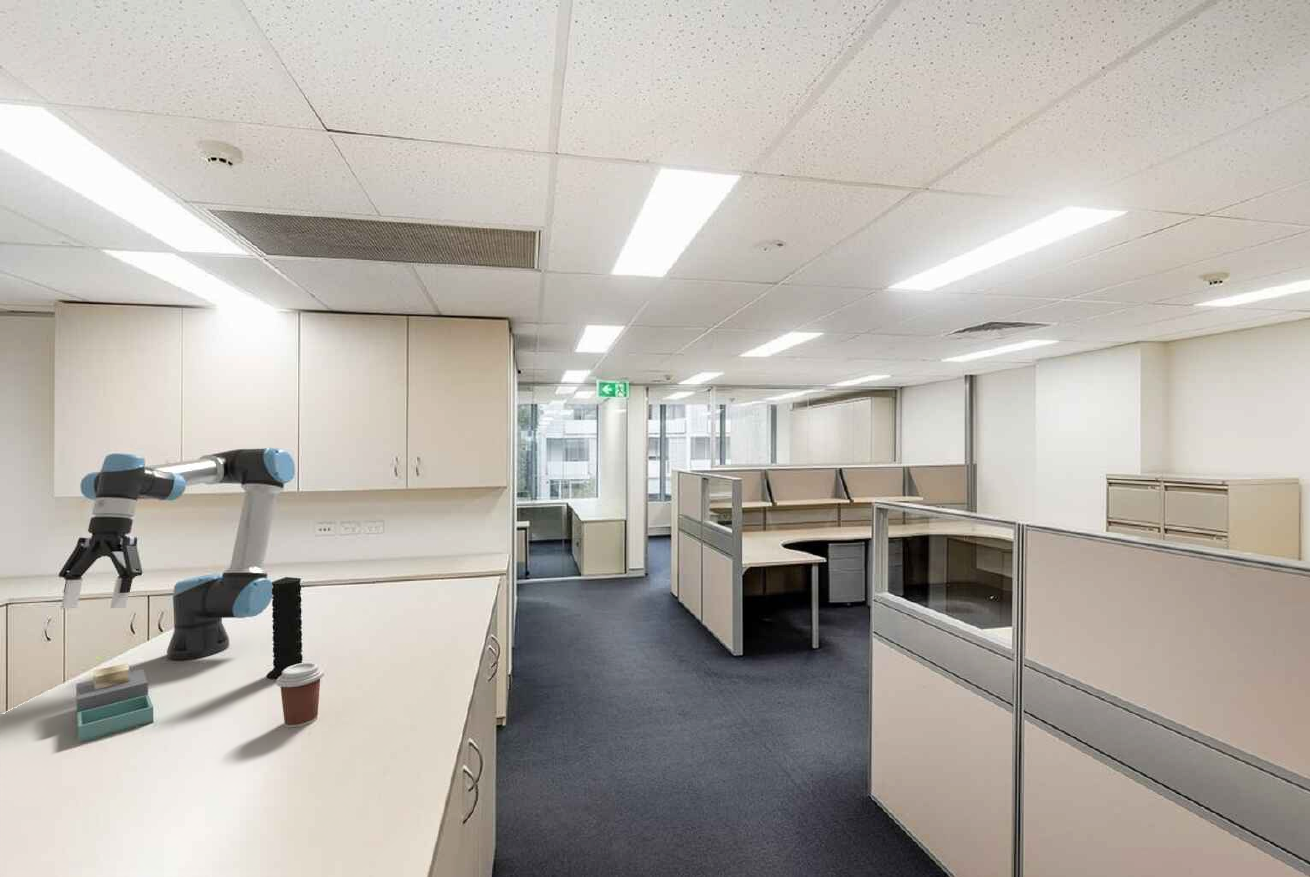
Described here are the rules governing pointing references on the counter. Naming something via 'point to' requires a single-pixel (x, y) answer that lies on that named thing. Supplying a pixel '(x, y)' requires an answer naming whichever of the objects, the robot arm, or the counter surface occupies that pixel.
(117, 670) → the tile
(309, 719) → the coffee cup
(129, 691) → the gray rectangular block
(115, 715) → the box
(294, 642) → the black ridged tower
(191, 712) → the counter surface
